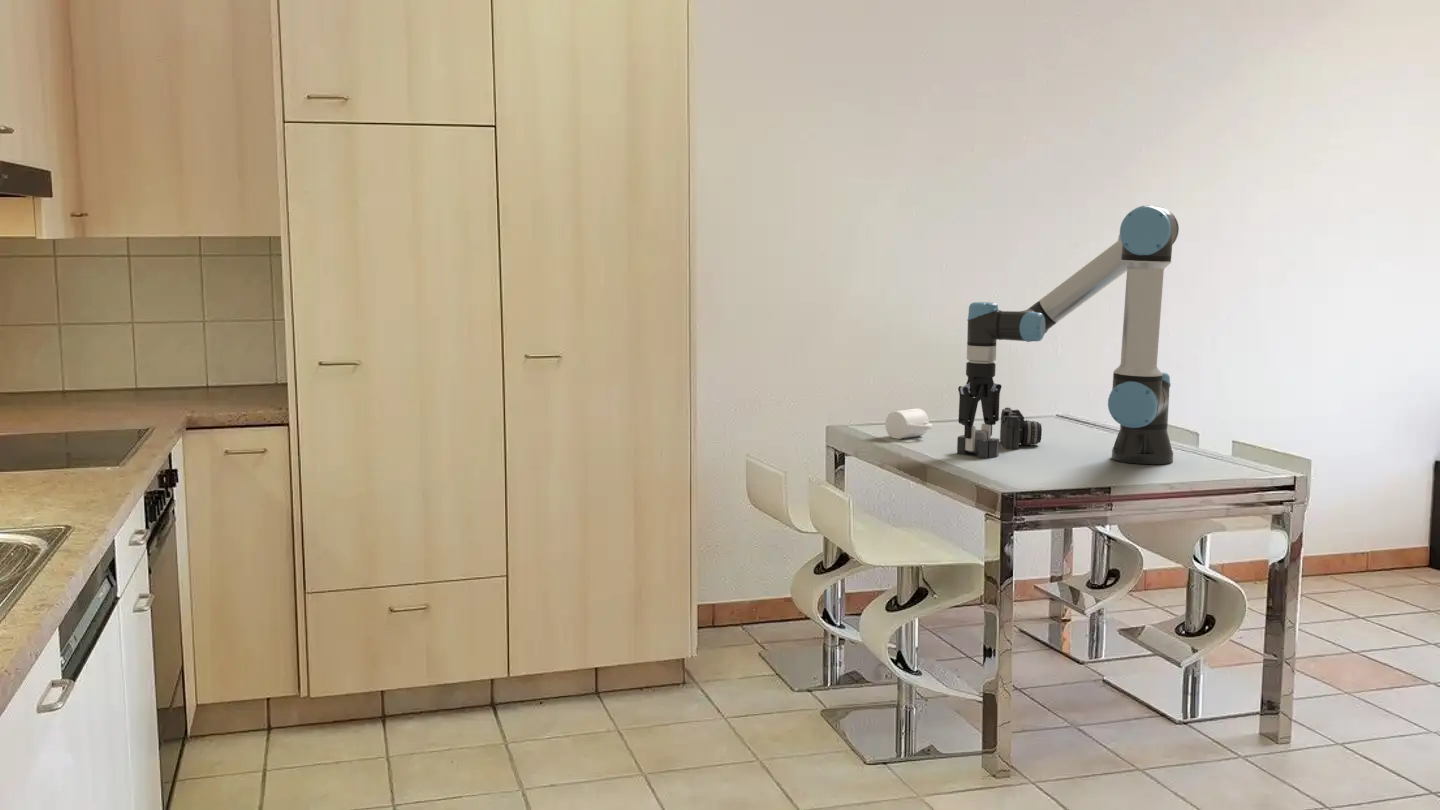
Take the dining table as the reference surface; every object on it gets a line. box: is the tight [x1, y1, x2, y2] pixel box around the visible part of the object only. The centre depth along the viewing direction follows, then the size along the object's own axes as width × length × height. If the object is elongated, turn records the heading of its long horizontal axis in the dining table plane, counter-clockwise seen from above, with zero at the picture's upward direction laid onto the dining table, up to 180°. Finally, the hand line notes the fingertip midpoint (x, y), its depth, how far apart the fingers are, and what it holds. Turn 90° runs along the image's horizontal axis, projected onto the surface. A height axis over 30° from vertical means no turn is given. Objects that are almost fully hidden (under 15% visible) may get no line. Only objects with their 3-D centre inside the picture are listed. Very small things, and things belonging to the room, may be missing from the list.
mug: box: [884, 408, 933, 440], centre depth 375 cm, size 12×10×8 cm
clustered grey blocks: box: [956, 434, 1000, 459], centre depth 349 cm, size 11×7×4 cm
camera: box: [999, 407, 1043, 451], centre depth 364 cm, size 14×11×10 cm
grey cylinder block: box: [967, 428, 987, 454], centre depth 349 cm, size 5×5×5 cm
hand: (977, 449), depth 349 cm, fingers closed on grey cylinder block, 5 cm apart
